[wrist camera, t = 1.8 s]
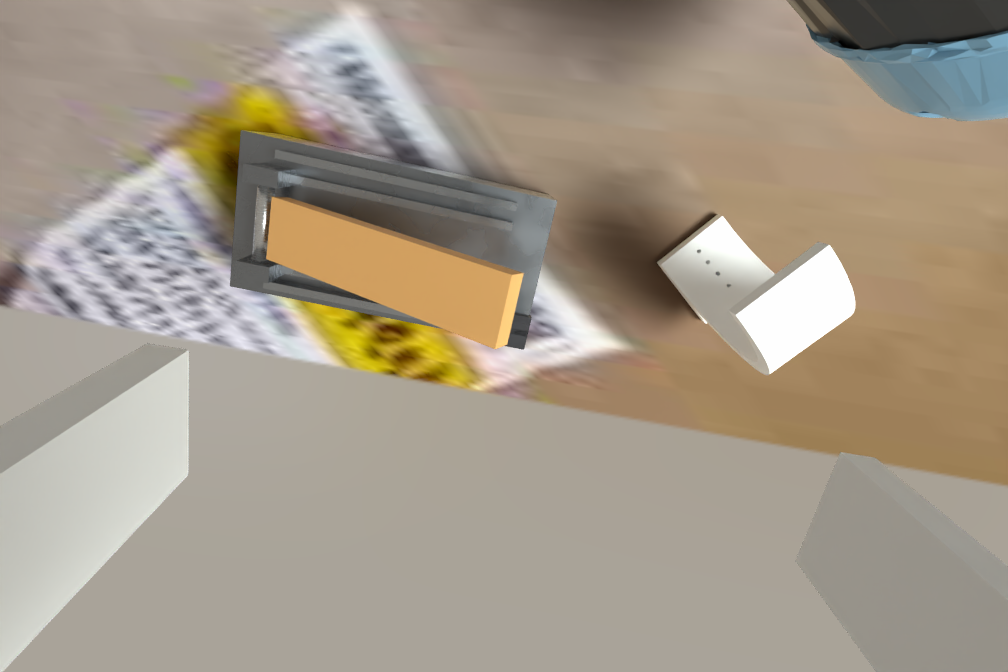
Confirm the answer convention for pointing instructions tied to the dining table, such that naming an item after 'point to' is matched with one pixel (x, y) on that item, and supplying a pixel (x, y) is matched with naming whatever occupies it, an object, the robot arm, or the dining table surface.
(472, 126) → the dining table surface
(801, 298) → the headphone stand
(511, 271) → the tan flat bar
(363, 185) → the block
